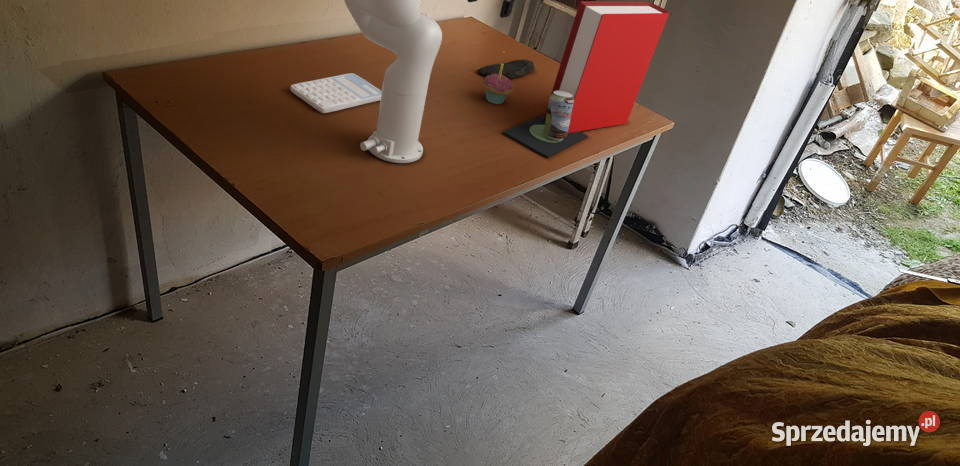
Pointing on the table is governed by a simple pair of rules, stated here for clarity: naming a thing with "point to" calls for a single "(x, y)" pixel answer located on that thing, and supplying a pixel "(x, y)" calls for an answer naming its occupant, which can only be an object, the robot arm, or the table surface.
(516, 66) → the wood
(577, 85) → the book
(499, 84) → the cupcake
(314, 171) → the table surface
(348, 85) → the calculator
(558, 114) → the beverage can
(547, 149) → the desk mat
